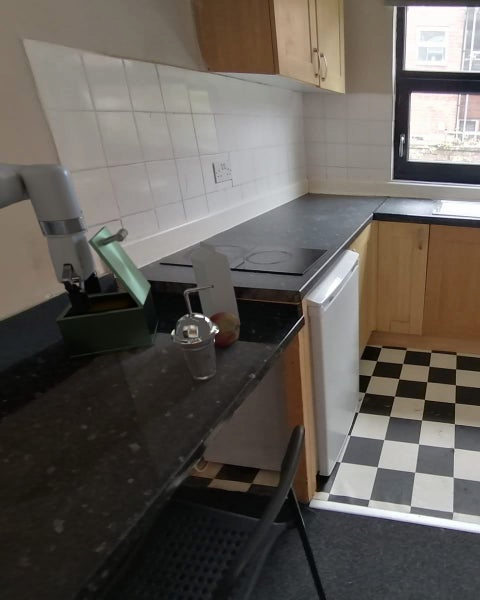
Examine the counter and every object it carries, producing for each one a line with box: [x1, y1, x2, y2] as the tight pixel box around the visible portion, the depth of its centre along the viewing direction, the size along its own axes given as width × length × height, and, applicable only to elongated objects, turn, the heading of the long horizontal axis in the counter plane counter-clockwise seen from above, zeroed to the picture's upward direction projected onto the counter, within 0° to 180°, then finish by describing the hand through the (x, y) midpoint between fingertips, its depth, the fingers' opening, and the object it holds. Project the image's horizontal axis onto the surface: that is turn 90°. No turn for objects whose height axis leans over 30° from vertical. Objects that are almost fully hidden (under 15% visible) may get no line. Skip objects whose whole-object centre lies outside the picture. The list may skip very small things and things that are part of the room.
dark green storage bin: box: [55, 288, 160, 361], centre depth 94 cm, size 16×13×10 cm
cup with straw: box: [170, 285, 219, 382], centre depth 79 cm, size 8×9×20 cm
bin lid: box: [87, 225, 152, 307], centre depth 91 cm, size 17×13×5 cm
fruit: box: [209, 312, 241, 348], centre depth 93 cm, size 8×8×8 cm
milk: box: [190, 241, 241, 326], centre depth 99 cm, size 6×6×22 cm
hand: (89, 301), depth 91 cm, fingers open, 9 cm apart
